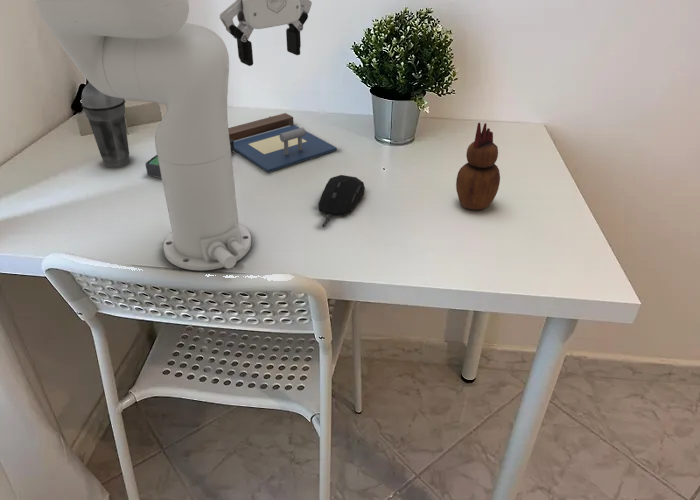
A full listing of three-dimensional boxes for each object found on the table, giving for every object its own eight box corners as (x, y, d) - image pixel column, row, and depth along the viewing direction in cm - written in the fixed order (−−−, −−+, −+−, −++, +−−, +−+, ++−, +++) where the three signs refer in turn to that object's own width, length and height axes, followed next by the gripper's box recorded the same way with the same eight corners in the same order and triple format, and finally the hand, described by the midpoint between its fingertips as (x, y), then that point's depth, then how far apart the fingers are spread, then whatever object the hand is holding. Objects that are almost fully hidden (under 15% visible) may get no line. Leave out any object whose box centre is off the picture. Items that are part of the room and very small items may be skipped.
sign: (336, 150, 115) (336, 126, 112) (268, 172, 106) (266, 147, 104) (293, 126, 125) (292, 103, 122) (226, 145, 116) (223, 121, 113)
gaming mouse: (304, 223, 92) (303, 201, 90) (335, 182, 104) (335, 162, 101) (342, 230, 90) (342, 208, 88) (369, 188, 102) (370, 167, 100)
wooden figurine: (463, 216, 95) (475, 129, 86) (448, 199, 99) (459, 115, 91) (500, 211, 96) (516, 125, 88) (485, 194, 101) (498, 111, 92)
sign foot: (293, 125, 125) (293, 116, 124) (223, 145, 116) (222, 136, 115) (285, 121, 127) (285, 112, 126) (216, 140, 118) (214, 131, 117)
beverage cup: (143, 155, 112) (122, 49, 101) (127, 172, 106) (103, 61, 95) (107, 153, 112) (81, 47, 101) (89, 170, 106) (60, 59, 95)
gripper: (227, -43, 84) (238, 74, 94) (321, -54, 93) (323, 54, 103) (202, -50, 89) (215, 62, 99) (294, -59, 98) (298, 44, 108)
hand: (270, 58), depth 101 cm, fingers open, 9 cm apart
